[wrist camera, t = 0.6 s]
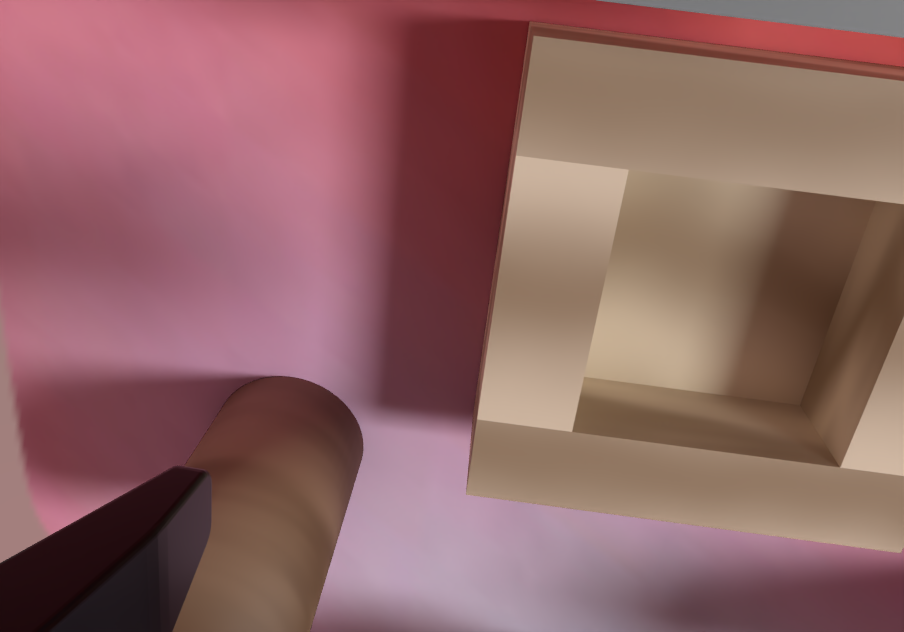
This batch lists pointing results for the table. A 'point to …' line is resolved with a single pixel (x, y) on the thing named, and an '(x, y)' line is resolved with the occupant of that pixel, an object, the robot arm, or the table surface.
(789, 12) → the grey arch frame
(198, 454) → the peg
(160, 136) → the table surface
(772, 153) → the socket block
